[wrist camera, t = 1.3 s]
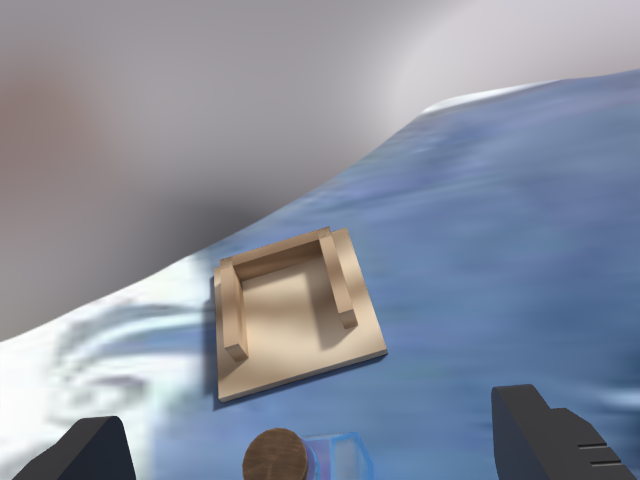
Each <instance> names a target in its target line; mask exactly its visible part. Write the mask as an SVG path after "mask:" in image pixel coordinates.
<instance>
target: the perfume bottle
mask: <svg viewBox="0 0 640 480" xmlns="http://www.w3.org/2000/svg"><path fill="white" fill-rule="evenodd" d="M242 468H243V478H244V480H374V472H373V462H372V460H371V458H370V456H369V454H368V452H367V450H366V448H365V446H364V444H363V442H362V440H361V438H360V436H359V434H358V432H352V433H339V434H327V435H314V436H302V437H299V436H297V435H296V434H295V433H294V432H292V431H290V430H288V429H284V428H274V429H270V430H266V431H265V432H263V433H261V434H260V435H258V436H257V437H256V438H255V439H254V440H253V441H252V442H251V444H250V445H249V447H248V449H247V451H246V453H245V456H244V460H243V464H242Z"/></svg>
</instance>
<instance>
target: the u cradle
mask: <svg viewBox="0 0 640 480" xmlns="http://www.w3.org/2000/svg"><path fill="white" fill-rule="evenodd" d="M214 286H215V313H216V340H217V366H218V393H219V400H220V401H221V402H222V403H223V402H226V401H230V400H233V399H236V398H240V397H243V396H247V395H250V394H253V393H257V392H260V391H263V390H267V389H270V388H274V387H277V386H280V385H284V384H287V383H290V382H294V381H297V380H301V379H304V378H307V377H311V376H314V375H317V374H321V373H324V372H328V371H331V370H334V369H338V368H341V367H344V366H348V365H351V364H355V363H358V362H361V361H365V360H368V359H371V358H375V357H378V356H382V355H385V354H388V352H387V348H386V345H385V342H384V339H383V336H382V333H381V330H380V327H379V324H378V321H377V318H376V315H375V312H374V309H373V306H372V303H371V300H370V297H369V294H368V291H367V288H366V285H365V282H364V279H363V276H362V273H361V270H360V267H359V264H358V261H357V258H356V255H355V252H354V249H353V246H352V243H351V240H350V237H349V234H348V231H347V228H343V229H340V230H337V231H333V232H331V231H330V228H329V226H328V227H325V228H322V229H319V230H316V231H312V232H309V233H306V234H303V235H299V236H296V237H293V238H290V239H287V240H283V241H280V242H277V243H274V244H270V245H267V246H264V247H261V248H257V249H254V250H251V251H248V252H245V253H241V254H238V255H235V256H232V257H228V258H225V259H222V260H220V267H217V268H214Z"/></svg>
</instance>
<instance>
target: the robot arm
mask: <svg viewBox="0 0 640 480" xmlns="http://www.w3.org/2000/svg"><path fill="white" fill-rule="evenodd" d="M491 401H492V421H493V441H494V457H495V464H496V469H497V473H498V477H499V480H637V479H636V478H635V477H634V476H633V474H632V473H631V472H630V471H629V470H628V468H627V467H626V466H625V465H622V464H621V460H620V459H619V458H618V456H617V455H616V454H615V453H614V452H613V450H612V449H611V448H610V447H607V444H606V442H605V441H604V440H603V438H602V437H601V436H600V435H599V434H598V432H597V431H596V430H595V429H594V428H593V426H592V425H591V424H590V423H589V422H587V421H585V420H584V419H582V418H581V417H579V416H577V415H576V414H574V413H573V412H571V411H570V410H568V409H566V408H556V409H550V407H549V406H548V405H547V403H546V402H545V401H544V399H543V398H542V397H541V395H540V394H539V392H538V391H537V390H536V388H535V387H534V386H533V385H531V384H525V385H512V386H500V387H493V388H492V393H491ZM12 480H136V475H135V471H134V467H133V463H132V459H131V454H130V450H129V446H128V442H127V438H126V434H125V430H124V426H123V423H122V421H121V420H120V418H119V417H117V416H106V417H93V418H82V419H80V420H78V421H77V422H76V423H75V424H74V425H73V426H72V427H71V428H70V429H69V430H68V431H67V432H66V433H65V434H64V435H63V437H62V438H61V439H60V440H59V441H58V442H57V443H56V444H55V445H53V446H52V447H50V448H49V449H47V450H46V451H44V452H43V453H41V454H40V455H39V456H37V457H36V458H34V459H33V460H31V461H30V462H29V463H28V464H27V465H26V466H25V467H24V468H23V469H22V470H21V471H20V472H19V473H18V474H17V475H16V476H15V477H14V478H13V479H12Z"/></svg>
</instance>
